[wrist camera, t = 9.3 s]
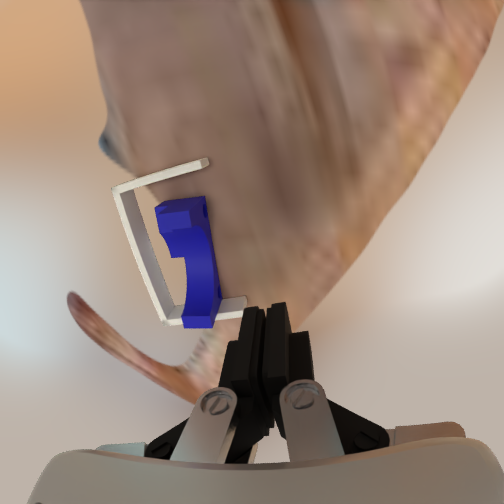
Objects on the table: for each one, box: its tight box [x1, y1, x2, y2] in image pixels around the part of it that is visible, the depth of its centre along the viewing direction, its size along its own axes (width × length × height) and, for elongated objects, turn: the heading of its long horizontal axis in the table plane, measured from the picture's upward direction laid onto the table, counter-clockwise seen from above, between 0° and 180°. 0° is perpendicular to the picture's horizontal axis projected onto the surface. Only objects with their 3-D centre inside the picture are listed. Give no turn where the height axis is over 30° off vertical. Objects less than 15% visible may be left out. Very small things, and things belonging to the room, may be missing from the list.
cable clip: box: [155, 196, 222, 328], centre depth 30 cm, size 12×4×6 cm, turn 6°
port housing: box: [111, 157, 247, 326], centre depth 31 cm, size 17×10×3 cm, turn 13°
